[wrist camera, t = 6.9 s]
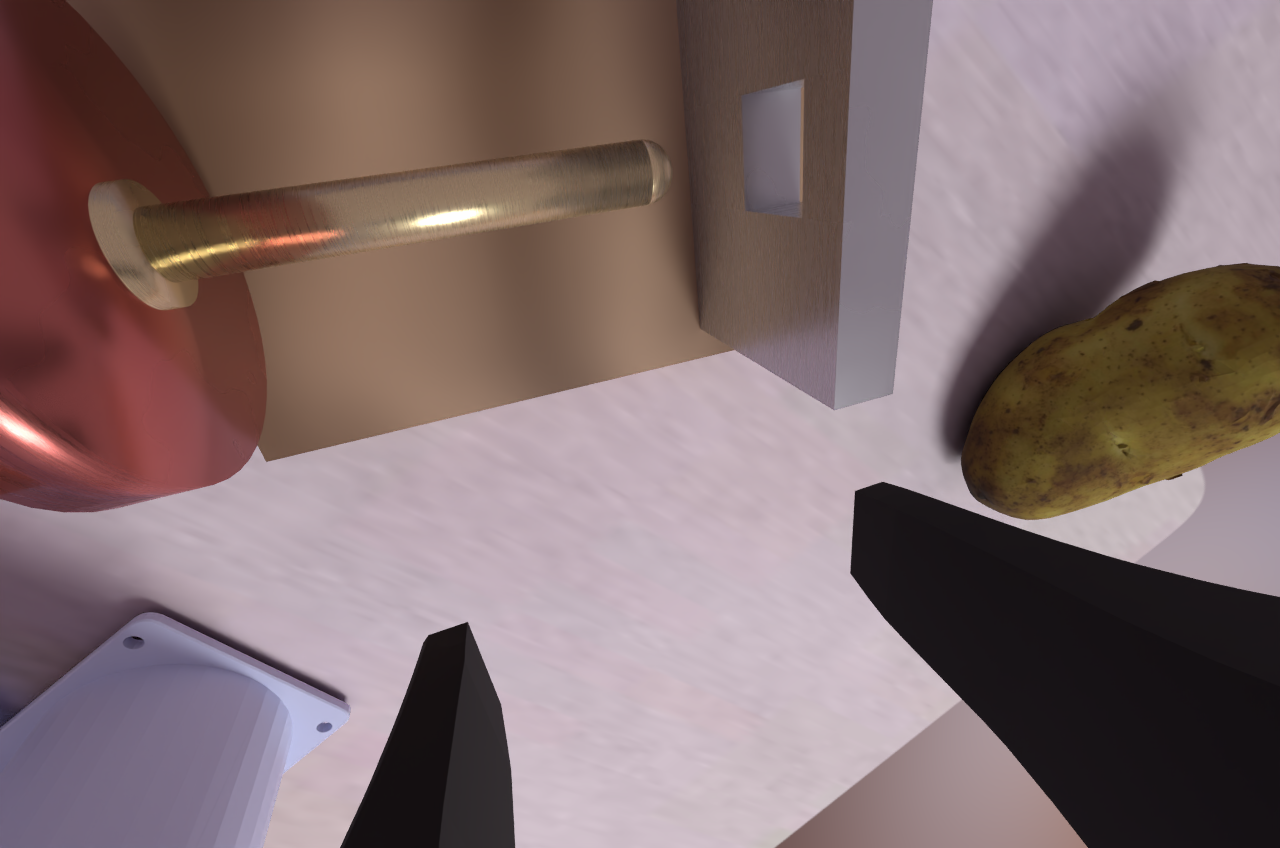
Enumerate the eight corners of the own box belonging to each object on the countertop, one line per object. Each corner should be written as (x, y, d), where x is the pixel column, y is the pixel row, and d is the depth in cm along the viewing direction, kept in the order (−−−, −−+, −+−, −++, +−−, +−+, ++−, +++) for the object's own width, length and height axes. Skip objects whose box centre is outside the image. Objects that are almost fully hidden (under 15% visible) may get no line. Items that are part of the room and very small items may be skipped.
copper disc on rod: (591, -20, 12) (772, -257, 6) (634, 316, 16) (776, 424, 9) (21, 16, 10) (-928, -336, 3) (224, 404, 14) (-1, 640, 7)
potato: (915, 372, 23) (1112, 456, 16) (1148, 220, 24) (1431, 238, 17) (944, 501, 28) (1111, 610, 21) (1142, 367, 28) (1367, 430, 21)
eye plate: (726, -73, 13) (961, -277, 7) (741, 319, 18) (892, 394, 12) (671, -71, 13) (867, -282, 7) (700, 328, 18) (834, 409, 11)
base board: (807, -103, 15) (841, -129, 14) (800, 318, 20) (825, 328, 19) (26, -81, 11) (-31, -116, 10) (280, 438, 16) (266, 462, 15)
